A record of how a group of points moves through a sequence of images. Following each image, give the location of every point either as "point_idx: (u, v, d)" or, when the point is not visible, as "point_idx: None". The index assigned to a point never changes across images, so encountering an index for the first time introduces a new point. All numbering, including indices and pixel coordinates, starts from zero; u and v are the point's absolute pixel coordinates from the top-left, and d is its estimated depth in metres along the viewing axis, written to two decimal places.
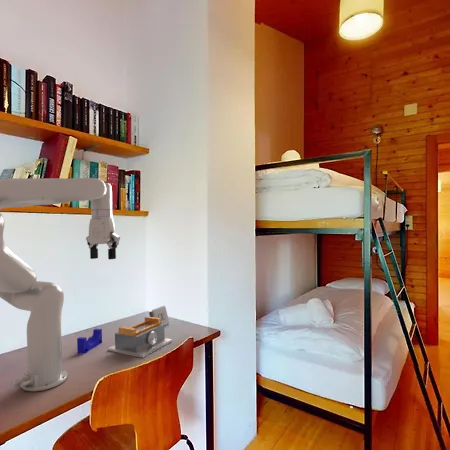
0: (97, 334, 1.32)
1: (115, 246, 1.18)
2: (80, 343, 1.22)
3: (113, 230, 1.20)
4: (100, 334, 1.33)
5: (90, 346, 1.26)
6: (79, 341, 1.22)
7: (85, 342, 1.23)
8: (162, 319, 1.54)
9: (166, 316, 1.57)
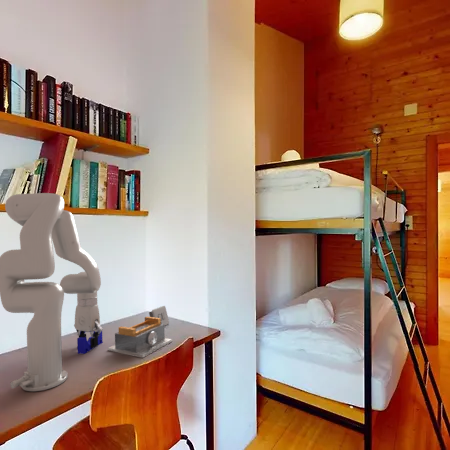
0: None
1: (97, 335, 1.26)
2: (80, 343, 1.22)
3: (98, 317, 1.27)
4: (101, 334, 1.33)
5: (90, 346, 1.25)
6: (79, 341, 1.22)
7: (85, 342, 1.23)
8: (162, 319, 1.54)
9: (166, 316, 1.57)
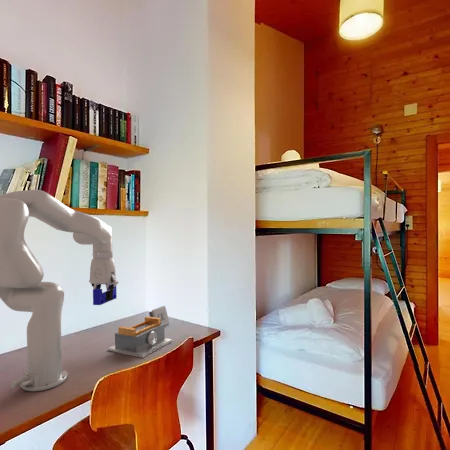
0: None
1: (112, 288, 1.27)
2: (96, 294, 1.22)
3: (113, 270, 1.27)
4: (115, 289, 1.33)
5: (105, 298, 1.26)
6: (95, 292, 1.22)
7: (101, 293, 1.23)
8: (162, 319, 1.54)
9: (166, 316, 1.57)
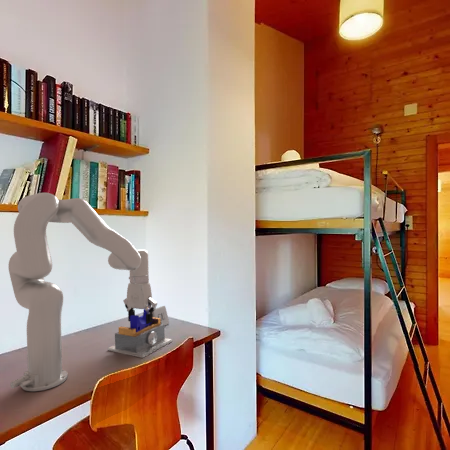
0: None
1: (152, 311, 1.26)
2: (133, 320, 1.22)
3: (150, 295, 1.27)
4: None
5: (142, 325, 1.26)
6: (132, 319, 1.22)
7: (138, 320, 1.23)
8: (162, 319, 1.54)
9: (166, 316, 1.57)
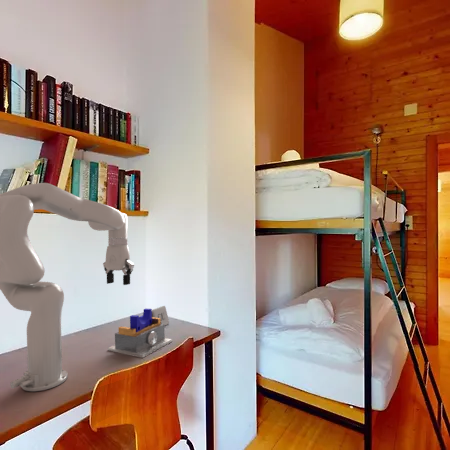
0: (147, 314, 1.32)
1: (129, 272, 1.27)
2: (133, 320, 1.22)
3: (128, 257, 1.29)
4: (150, 314, 1.33)
5: (142, 325, 1.26)
6: (132, 319, 1.22)
7: (138, 320, 1.23)
8: (162, 319, 1.54)
9: (166, 316, 1.57)
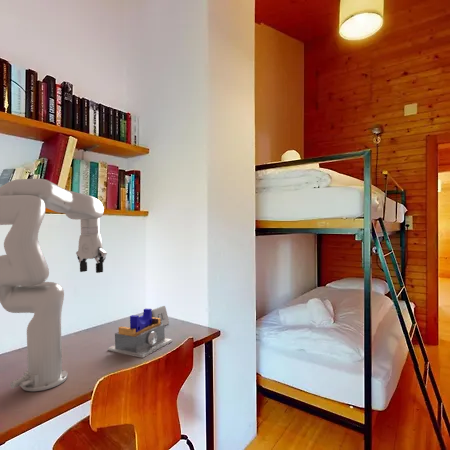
0: (147, 314, 1.32)
1: (102, 261, 1.30)
2: (133, 320, 1.22)
3: (100, 246, 1.32)
4: (150, 314, 1.33)
5: (142, 325, 1.26)
6: (132, 319, 1.22)
7: (138, 320, 1.23)
8: (162, 319, 1.54)
9: (166, 316, 1.57)
